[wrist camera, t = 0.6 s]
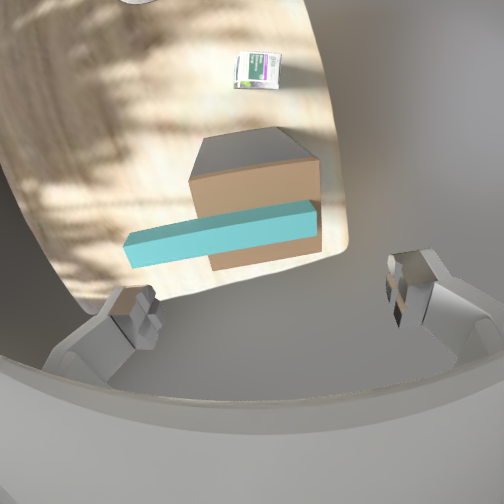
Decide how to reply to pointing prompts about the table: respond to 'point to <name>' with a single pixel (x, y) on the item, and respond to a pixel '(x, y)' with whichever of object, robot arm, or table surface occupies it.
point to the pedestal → (255, 187)
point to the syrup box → (257, 70)
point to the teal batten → (222, 233)
